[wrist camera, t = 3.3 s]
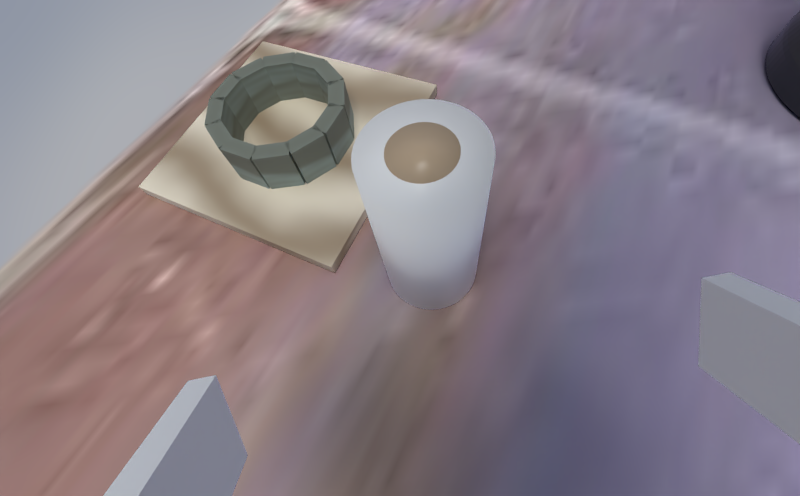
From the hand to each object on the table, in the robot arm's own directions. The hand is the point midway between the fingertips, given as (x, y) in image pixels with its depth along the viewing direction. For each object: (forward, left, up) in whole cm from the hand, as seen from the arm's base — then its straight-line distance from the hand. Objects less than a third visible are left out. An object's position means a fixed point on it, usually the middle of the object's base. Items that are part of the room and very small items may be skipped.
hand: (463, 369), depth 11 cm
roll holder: (-14, -20, -14) cm, 28 cm away
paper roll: (-8, -5, -14) cm, 17 cm away
